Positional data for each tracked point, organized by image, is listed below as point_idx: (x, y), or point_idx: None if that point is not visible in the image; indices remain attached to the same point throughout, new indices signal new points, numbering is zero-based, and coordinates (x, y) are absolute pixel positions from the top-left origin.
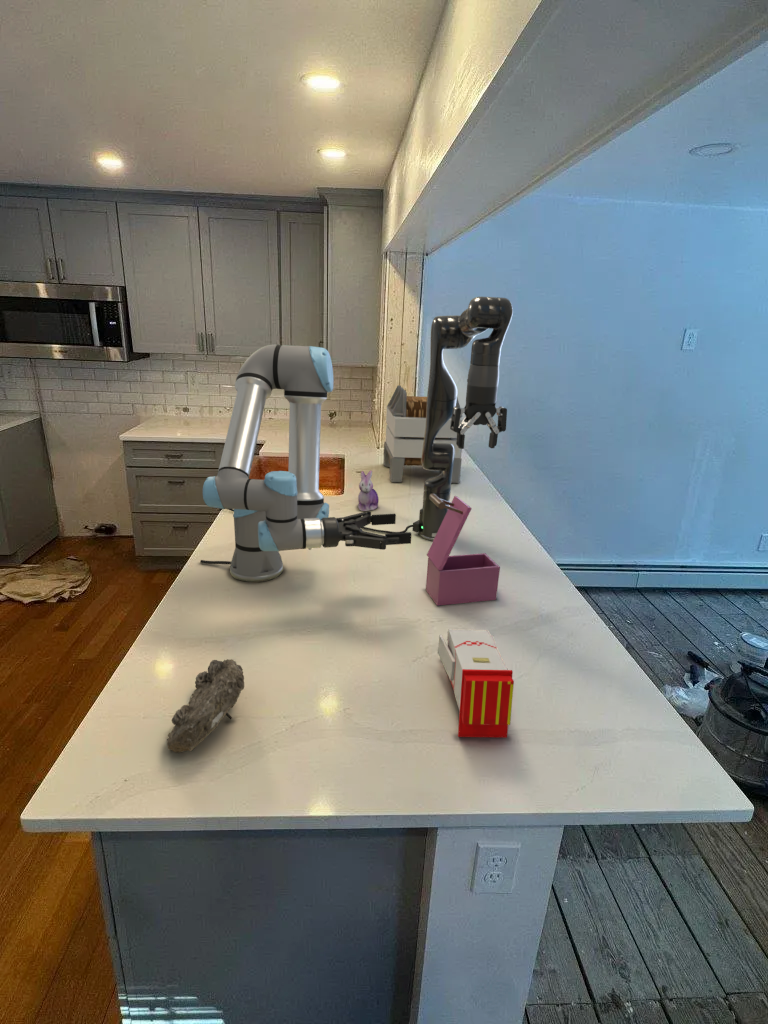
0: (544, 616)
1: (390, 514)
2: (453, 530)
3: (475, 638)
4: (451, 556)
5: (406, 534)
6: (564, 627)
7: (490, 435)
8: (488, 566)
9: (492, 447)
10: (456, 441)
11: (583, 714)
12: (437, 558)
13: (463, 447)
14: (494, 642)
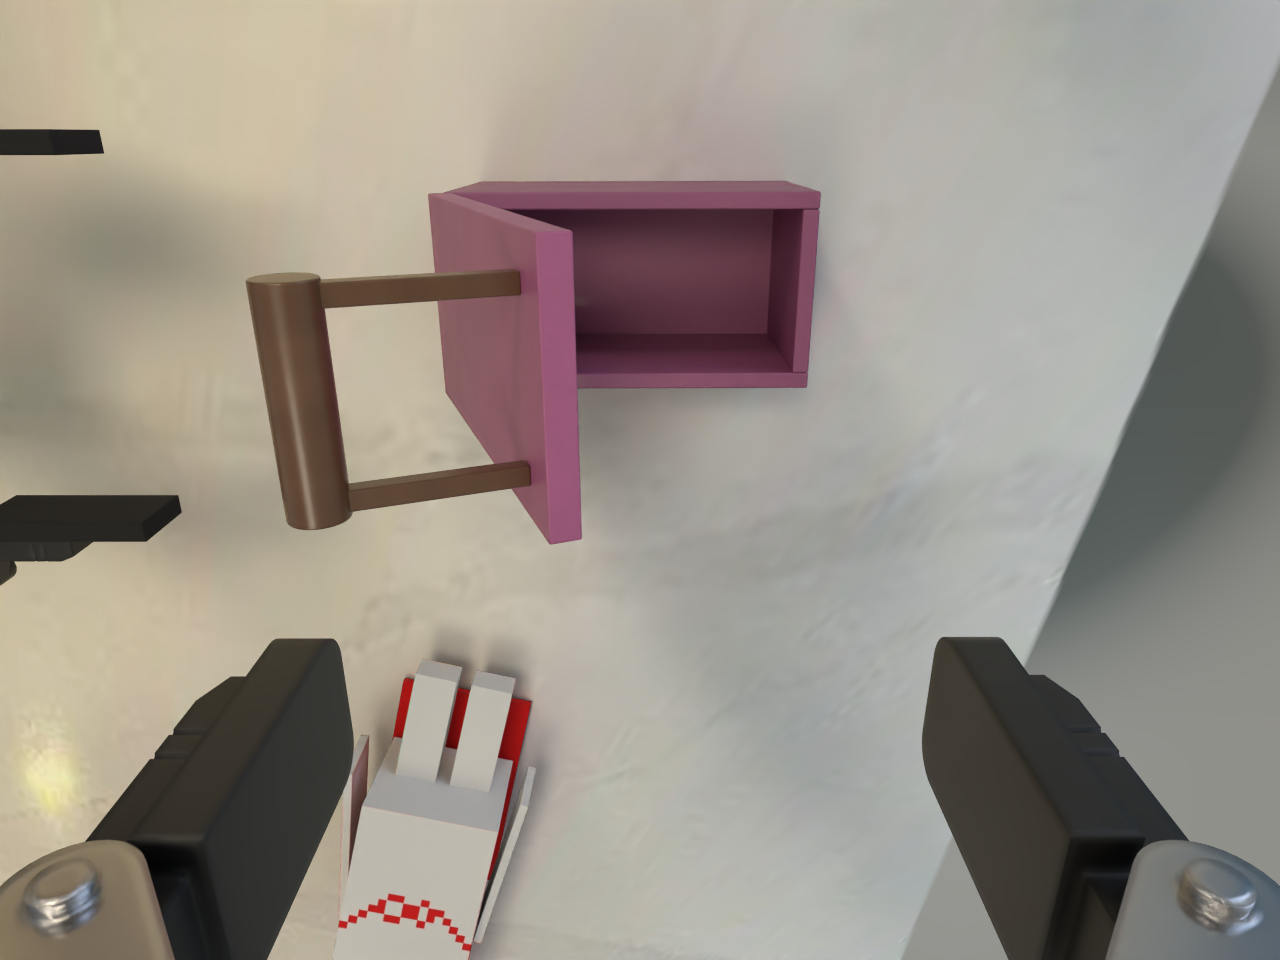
0: (900, 505)
1: (8, 145)
2: (492, 422)
3: (429, 882)
4: (589, 204)
5: (116, 538)
6: (923, 585)
7: (1031, 831)
8: (790, 276)
9: (933, 772)
10: (173, 735)
11: (696, 915)
12: (446, 342)
13: (340, 782)
14: (509, 851)
